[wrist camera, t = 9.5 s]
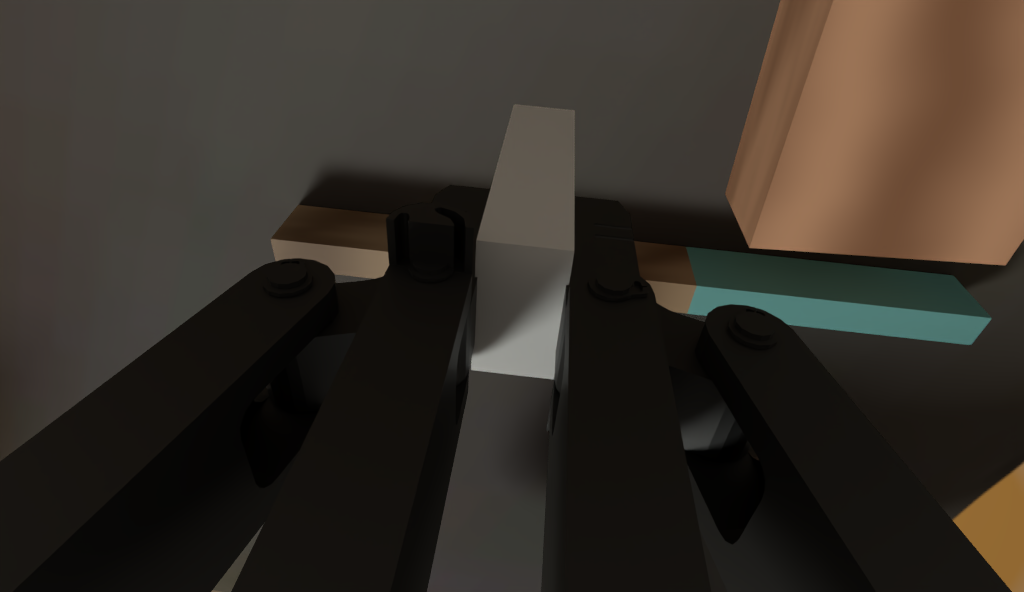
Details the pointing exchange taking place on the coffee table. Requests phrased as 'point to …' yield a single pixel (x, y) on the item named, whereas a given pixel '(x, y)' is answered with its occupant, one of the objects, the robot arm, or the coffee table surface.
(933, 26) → the wooden block
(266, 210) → the coffee table surface
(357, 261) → the lane walls
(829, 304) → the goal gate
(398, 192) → the coffee table surface
